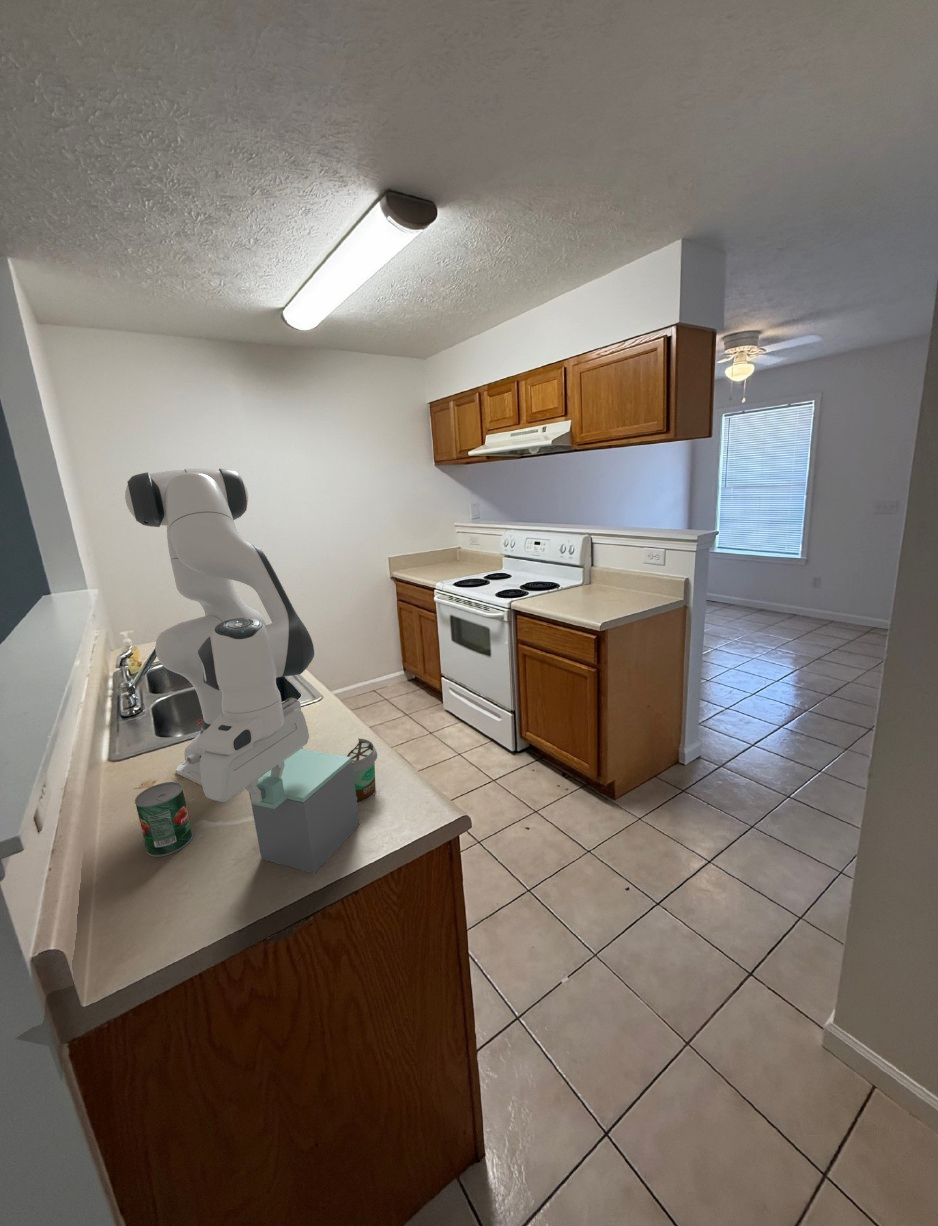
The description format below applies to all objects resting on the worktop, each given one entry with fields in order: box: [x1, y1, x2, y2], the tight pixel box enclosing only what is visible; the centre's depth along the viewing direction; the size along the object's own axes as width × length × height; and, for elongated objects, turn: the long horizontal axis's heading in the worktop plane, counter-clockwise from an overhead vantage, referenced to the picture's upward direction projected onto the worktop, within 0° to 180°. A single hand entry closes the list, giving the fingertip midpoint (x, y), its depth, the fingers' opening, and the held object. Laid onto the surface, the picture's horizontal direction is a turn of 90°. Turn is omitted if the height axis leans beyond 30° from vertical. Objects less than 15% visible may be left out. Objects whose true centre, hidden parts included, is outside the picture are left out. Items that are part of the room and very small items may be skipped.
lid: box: [250, 748, 352, 809], centre depth 91 cm, size 12×17×4 cm
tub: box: [248, 761, 361, 874], centre depth 95 cm, size 12×14×14 cm
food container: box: [346, 738, 378, 804], centre depth 110 cm, size 12×6×10 cm, turn 168°
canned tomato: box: [134, 781, 194, 858], centre depth 97 cm, size 8×8×11 cm
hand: (267, 793), depth 85 cm, fingers closed on lid, 2 cm apart
